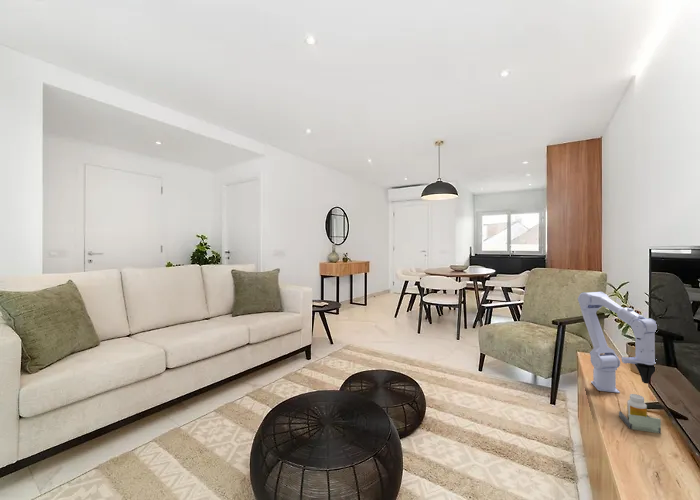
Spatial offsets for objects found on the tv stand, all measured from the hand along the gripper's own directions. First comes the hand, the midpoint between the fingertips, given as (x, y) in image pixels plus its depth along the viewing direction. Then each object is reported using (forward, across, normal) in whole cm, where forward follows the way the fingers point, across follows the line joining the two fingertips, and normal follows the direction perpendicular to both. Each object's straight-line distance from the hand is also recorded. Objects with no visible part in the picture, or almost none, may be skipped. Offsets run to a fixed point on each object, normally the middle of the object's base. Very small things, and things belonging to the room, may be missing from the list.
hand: (645, 382), depth 127 cm
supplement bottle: (+11, -8, -13) cm, 19 cm away
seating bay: (+10, -8, -14) cm, 19 cm away
